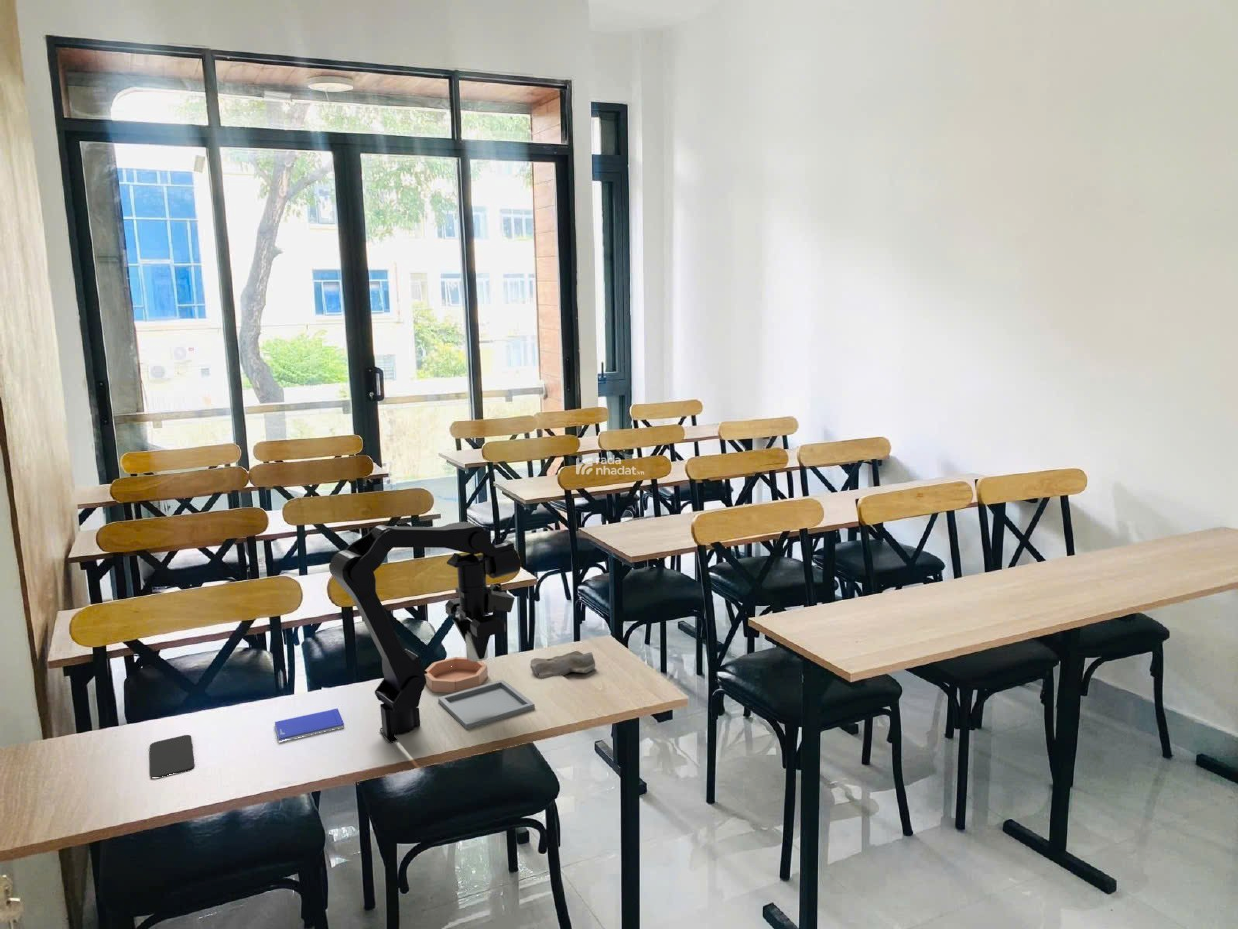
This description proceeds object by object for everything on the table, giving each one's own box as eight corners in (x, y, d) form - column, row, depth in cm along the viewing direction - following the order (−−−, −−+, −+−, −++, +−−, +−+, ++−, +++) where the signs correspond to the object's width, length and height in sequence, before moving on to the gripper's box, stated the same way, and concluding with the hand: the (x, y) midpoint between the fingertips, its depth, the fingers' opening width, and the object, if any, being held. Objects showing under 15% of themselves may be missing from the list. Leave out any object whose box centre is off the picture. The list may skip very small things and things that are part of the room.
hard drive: (278, 738, 170) (344, 723, 175) (274, 721, 177) (337, 707, 183) (279, 745, 170) (344, 730, 176) (275, 728, 178) (338, 714, 183)
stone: (535, 686, 193) (534, 669, 192) (526, 670, 202) (525, 653, 201) (599, 675, 197) (598, 658, 196) (587, 660, 206) (586, 643, 206)
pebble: (471, 663, 179) (470, 640, 178) (463, 656, 183) (462, 633, 182) (491, 658, 181) (490, 635, 180) (483, 651, 185) (481, 629, 184)
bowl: (439, 702, 186) (438, 686, 185) (418, 681, 197) (417, 666, 196) (495, 686, 193) (494, 671, 192) (471, 667, 203) (470, 653, 203)
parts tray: (467, 734, 171) (466, 724, 171) (438, 706, 184) (438, 697, 183) (535, 713, 179) (534, 704, 179) (503, 688, 191) (502, 679, 191)
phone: (149, 778, 158) (149, 743, 171) (150, 782, 158) (149, 747, 171) (195, 767, 161) (191, 733, 174) (195, 771, 161) (191, 737, 174)
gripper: (527, 587, 175) (531, 660, 178) (490, 565, 191) (495, 633, 194) (475, 598, 170) (480, 673, 173) (442, 575, 186) (447, 644, 188)
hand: (477, 655), depth 182 cm, fingers closed on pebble, 4 cm apart
